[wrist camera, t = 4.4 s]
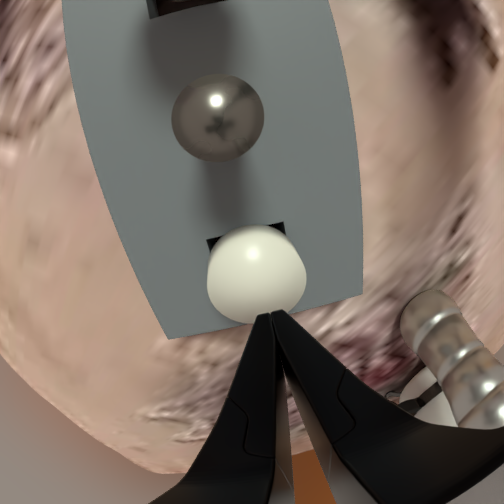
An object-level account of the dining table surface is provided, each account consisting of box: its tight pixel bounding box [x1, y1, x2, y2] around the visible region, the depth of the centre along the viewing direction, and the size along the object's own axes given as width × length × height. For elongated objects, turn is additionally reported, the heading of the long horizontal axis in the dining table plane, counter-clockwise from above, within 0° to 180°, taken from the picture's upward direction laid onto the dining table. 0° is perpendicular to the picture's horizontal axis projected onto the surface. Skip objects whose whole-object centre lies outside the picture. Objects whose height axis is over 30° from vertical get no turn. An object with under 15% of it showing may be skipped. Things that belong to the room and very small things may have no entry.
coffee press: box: [385, 366, 458, 427], centre depth 20 cm, size 17×16×30 cm
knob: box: [207, 224, 306, 324], centre depth 17 cm, size 5×5×6 cm
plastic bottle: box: [400, 290, 504, 429], centre depth 18 cm, size 6×7×20 cm
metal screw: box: [171, 74, 264, 162], centre depth 11 cm, size 3×3×5 cm
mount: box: [62, 0, 363, 340], centre depth 15 cm, size 14×26×4 cm, turn 12°
